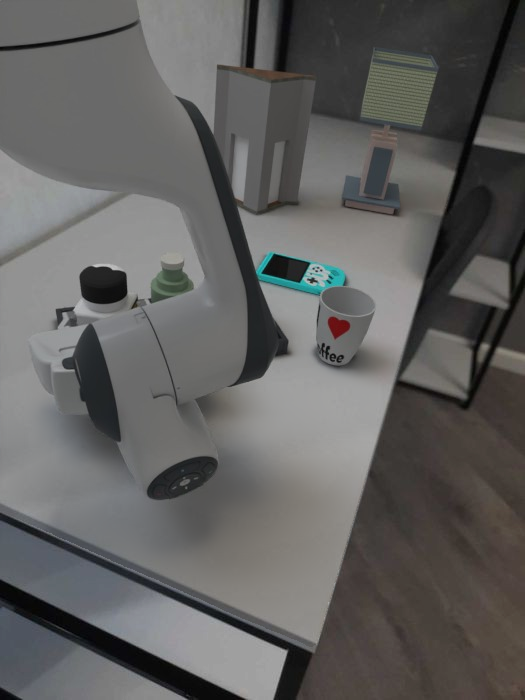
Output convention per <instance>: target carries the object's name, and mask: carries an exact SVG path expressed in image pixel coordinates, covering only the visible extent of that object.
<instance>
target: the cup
mask: <svg viewBox="0 0 525 700" xmlns="http://www.w3.org/2000/svg"><path fill="white" fill-rule="evenodd" d="M317 307H318V308H317V315H316V330H315V331H316V333H315V334H316V335H315V336H316V337H315V341H316V347H317V353H318V354H317V355H318V357H319V358H320V359H321V361H323V362H324V363H326V364H329V365H332V366H336V367H337V366H339V367H340V366H345V365H347V364H349V363H350V361H351V360H352V359H353V358H354V356H355V355H356V354H357V352H358V351H359V349H360V347H361V345H362V343H363V341H364V339H365V338H366V335H367V334H368V331H369V329H370V326H371V323H372V320H373V318H374V315H375V313H376V310H377V302H376V300H375V299H374V298H373V297H372V296H371V295H370V294H369V293H367V292H366V291H363V290H361V289H359V288H356V287H352V286H347V285H343V286H332V287H328V288H326V289H324V290H323V291H322V292H321V294H320V295H319V301H318V306H317Z"/></svg>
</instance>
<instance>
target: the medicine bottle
mask: <svg viewBox="0 0 525 700" xmlns="http://www.w3.org/2000/svg"><path fill="white" fill-rule="evenodd" d="M78 279H79V287H80V294H81V298H80V299H79V301H78V302H77V304H76V305H75V306H74V307H75V308H74V310H73V311H75V314H76V317H77V324H78V326H81V325H86V324H89V323H93V322H96V321H98V320H100V319H103V318H106V317H109V316H112V315H115V314H118V313H121V312H124V311H127V310H131V309H134V308H137V301H138V300H139V295H138V293H137V292H132V291H128V275H127V272H126V271H125V270H124V269H123V268H122V267H120V266H119V265H115V264H112V263H95V264H92V265H88V266H87V267H85V268H84V269H83V270H82V271H81V272H80V273H79V276H78Z"/></svg>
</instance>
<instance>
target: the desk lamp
mask: <svg viewBox="0 0 525 700" xmlns="http://www.w3.org/2000/svg"><path fill="white" fill-rule="evenodd" d="M368 70H369V71H368V75H367V80H366V85H365V90H364V94H363V99H362V103H361V109H360V115H359V121H361V122H366V123H372V124H378V125H384V127H383V130H380V129H372V128H371V129H372V130H371V133H370V138H369V142H368V145H367V151H366V155H365V159H364V163H363V168H362V173H361V177H360V176H359V177H358V176H352V175H348V174H347V175H345V179H344V184H343V191H342V197H341V200H343V201H345V202H344V203H345V204H344V206H345V207H349V208H354V209H360V210H365V211H371V212H377V213H383V214H389V215H394V212H395V210H400V209H401V201H400V199H401V198H400V188H399V183H395V182H394V183H393V182H389V181H390V177H391V172H392V170H393V166H394V162H395V158H396V154H397V150H398V148H399V147H398V146H399V143H398V141H399V140H398V139H399V138H398V137H397V136H398V133H397V132H393V131H392V132H391V131H390V129H391V127H395V128H396V127H397V128H403V129H409V130H414V131H415V130H416V131H420V132H421V131H422V129H423V124H424V121H425V117H426V114H427V111H428V110H427V109H428V106H429V102H430V99H431V96H432V92H433V89H434V85H435V81H436V78H437V74H438V72H439V66H438V64H437V62H436V61H435V59H434V57H433V55H430V54H429V55H428V54H422V53H416V52H409V51H403V50H396V49H389V48H382V47H375V46H374V47H373V50H372V56H371V61H370V66H369V69H368Z"/></svg>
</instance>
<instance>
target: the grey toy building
mask: <svg viewBox="0 0 525 700" xmlns="http://www.w3.org/2000/svg"><path fill="white" fill-rule="evenodd" d="M316 82H317V76H316V75H311V74H302V73H296V72H287V71H286V72H285V71H279V70H278V71H277V70H269V69H260V68H252V67H243V66H236V65H235V66H234V65H225V64H216V77H215V95H214V96H215V97H214V117H213V135H214V138H215V140H216V143H217V145H218V148H219V150H220V153H221V156H222V159H223V162H224V165H225V168H226V171H227V174H228V177H229V180H230V184H231V187H232V190H233V193H234V197H235V200H236V203H237V207H240V208H242V209H245V210H246V211H248V212H251V213H253V214H255V215H260V214H262V213H264V212H267V211H270V210H273V209H275V208H279V207H281V206H283V205H297V204H298V199H299V191H300V186H301V178H302V173H303V166H304V161H305V160H304V159H305V154H306V146H307V140H308V134H309V129H310V123H311V122H310V121H311V115H312V109H313V101H314V95H315V94H314V93H315V89H316Z"/></svg>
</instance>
